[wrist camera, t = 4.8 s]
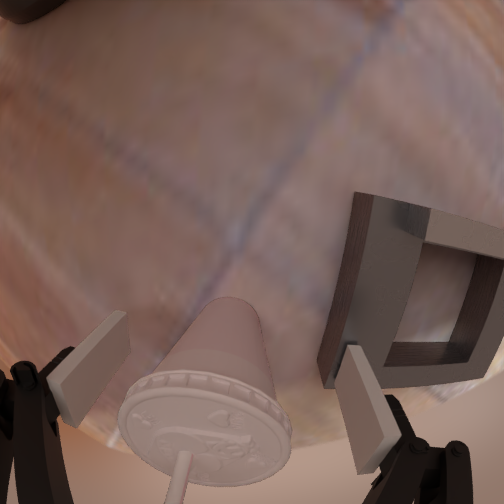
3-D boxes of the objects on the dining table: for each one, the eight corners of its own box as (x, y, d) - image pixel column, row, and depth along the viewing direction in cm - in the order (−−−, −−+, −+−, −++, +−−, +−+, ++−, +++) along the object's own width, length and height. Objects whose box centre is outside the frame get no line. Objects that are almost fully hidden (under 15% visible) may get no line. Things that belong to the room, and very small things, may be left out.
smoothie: (162, 295, 17) (25, 481, 4) (259, 259, 16) (239, 522, 3) (206, 374, 18) (155, 562, 5) (295, 348, 18) (322, 565, 4)
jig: (316, 359, 18) (329, 412, 13) (354, 191, 15) (392, 198, 10) (465, 358, 18) (495, 391, 13) (508, 232, 15) (551, 248, 10)
